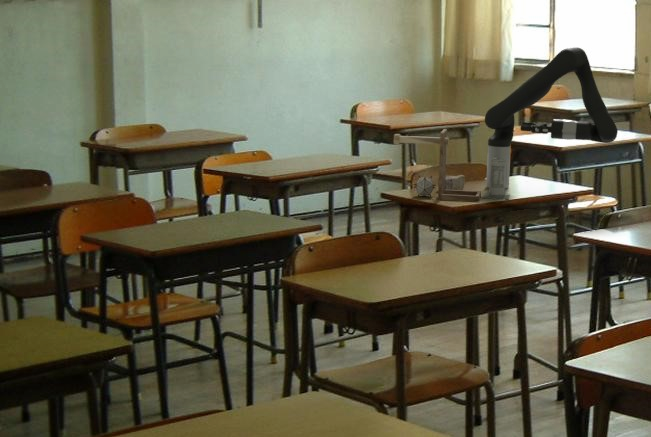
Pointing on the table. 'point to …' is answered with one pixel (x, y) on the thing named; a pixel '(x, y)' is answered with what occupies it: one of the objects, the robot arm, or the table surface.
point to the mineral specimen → (454, 182)
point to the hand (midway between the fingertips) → (521, 126)
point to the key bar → (418, 140)
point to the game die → (424, 186)
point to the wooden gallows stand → (442, 193)
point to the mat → (487, 196)
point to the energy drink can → (497, 177)
